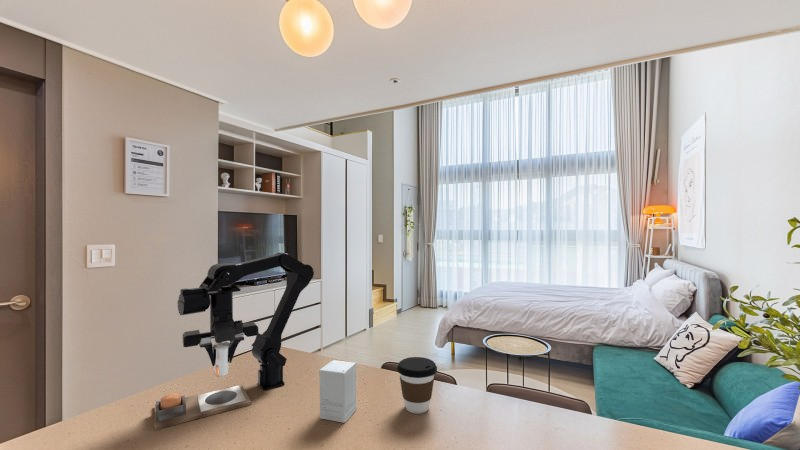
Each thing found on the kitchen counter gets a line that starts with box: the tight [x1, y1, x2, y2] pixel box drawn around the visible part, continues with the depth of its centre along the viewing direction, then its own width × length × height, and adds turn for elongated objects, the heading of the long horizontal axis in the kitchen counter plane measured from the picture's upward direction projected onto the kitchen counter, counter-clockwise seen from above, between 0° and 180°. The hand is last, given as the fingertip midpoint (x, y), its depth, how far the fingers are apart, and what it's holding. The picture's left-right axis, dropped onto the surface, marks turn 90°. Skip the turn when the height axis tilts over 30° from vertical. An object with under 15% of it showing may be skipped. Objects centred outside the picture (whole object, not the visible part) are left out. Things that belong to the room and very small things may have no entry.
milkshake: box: [212, 341, 232, 378], centre depth 100 cm, size 5×5×10 cm
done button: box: [160, 392, 182, 410], centre depth 92 cm, size 4×4×3 cm
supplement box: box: [318, 359, 358, 424], centre depth 93 cm, size 7×7×13 cm
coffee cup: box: [396, 356, 438, 414], centre depth 96 cm, size 11×11×12 cm
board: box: [153, 384, 252, 431], centre depth 97 cm, size 22×13×3 cm, turn 124°
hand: (221, 364), depth 100 cm, fingers closed on milkshake, 4 cm apart
